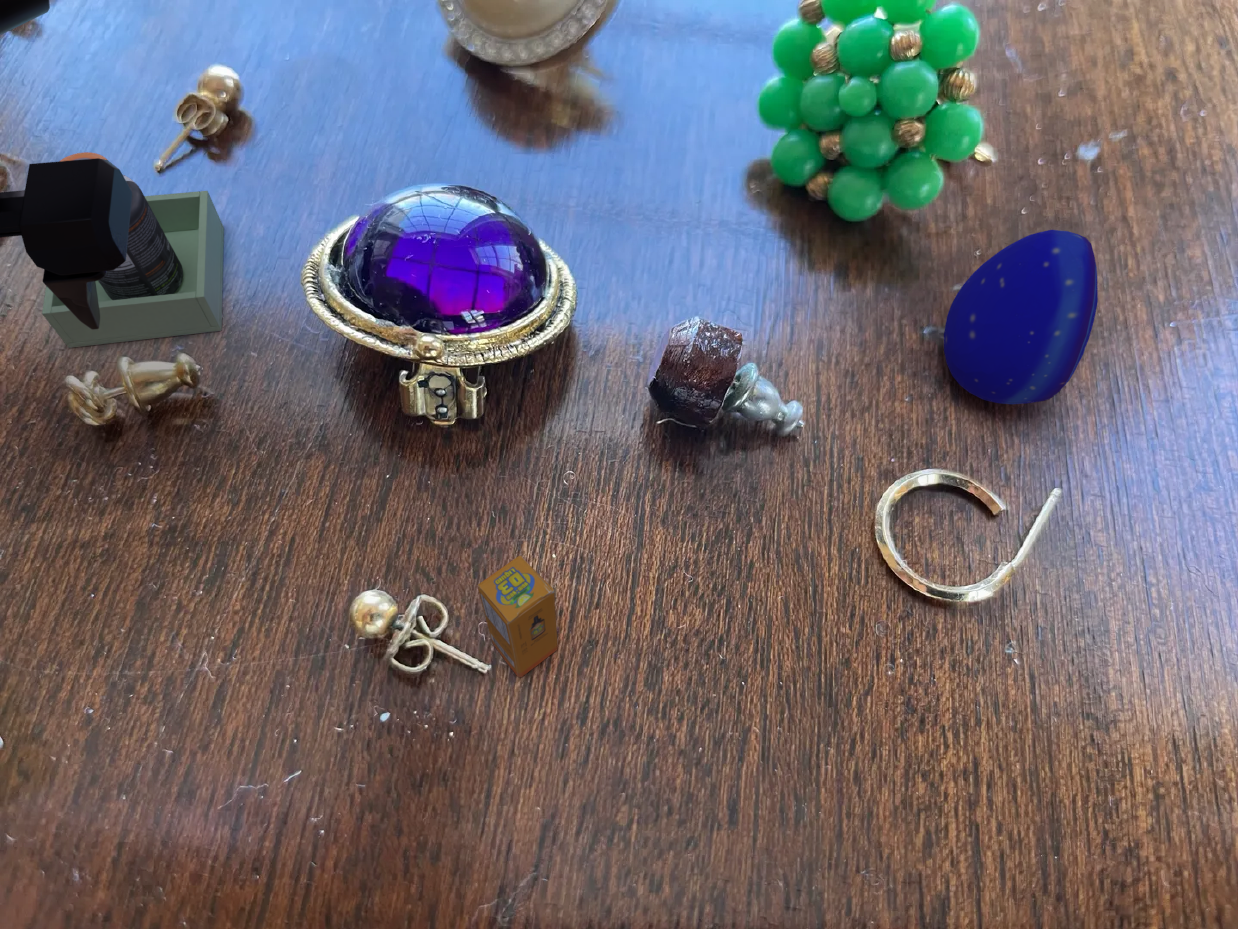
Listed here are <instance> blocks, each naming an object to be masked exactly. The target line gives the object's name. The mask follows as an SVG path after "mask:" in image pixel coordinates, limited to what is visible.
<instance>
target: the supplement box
mask: <svg viewBox="0 0 1238 929" xmlns="http://www.w3.org/2000/svg"><path fill="white" fill-rule="evenodd" d="M477 589H478V594H479V598H480V601H481V605H482V609H483V613H484V617H485V621H486V625H487V629H488V632H489V636H490V639H491V642H492V645H493V646H494V647H495V649H496V650H497V653H499V654H500V656H501V657H502V659H503V660H504V661H505V663H506V664H507V665H508V667H509V668H510V669H511V670H512V672H513V673H514V674H515V675H516V676H517V677H518V678H523V677H524V676H525V675H526V674H528V673H529V672H530V671H532V670H533V669H535V668H536V667H537V666H538V665H540V664H541V663H542V662H544V661H545V660H546V659H547V658H549V657H550V656H551V655H552V654H554V653H555V652H556V651H557V650H558V649H559V646H558V631H557V629H558V628H557V615H556V614H557V613H556V598H555V597H556V596H555V595H556V594H555V589H554V588H553V586H551V584H549V583H548V582H547V581H546V579H544V578H543V577H542V576H541V575H540V574H539V573H538V572H537V571H536V570H535V569H534V568H533V566H531V565H530V564H529V563H528V562H527V560H526V559H524V557H523V556H522V555H518V556H516V557H515V558H514V559H512V560H511V561H509V562H508V563H506V564H505V565H503V566H501V568H500V569H498V570H496V571H495V572H494V573H492V574H491V575H489V576H488V577H487V578H485V579H483V580H482V581H480V583H478V584H477Z"/></svg>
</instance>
